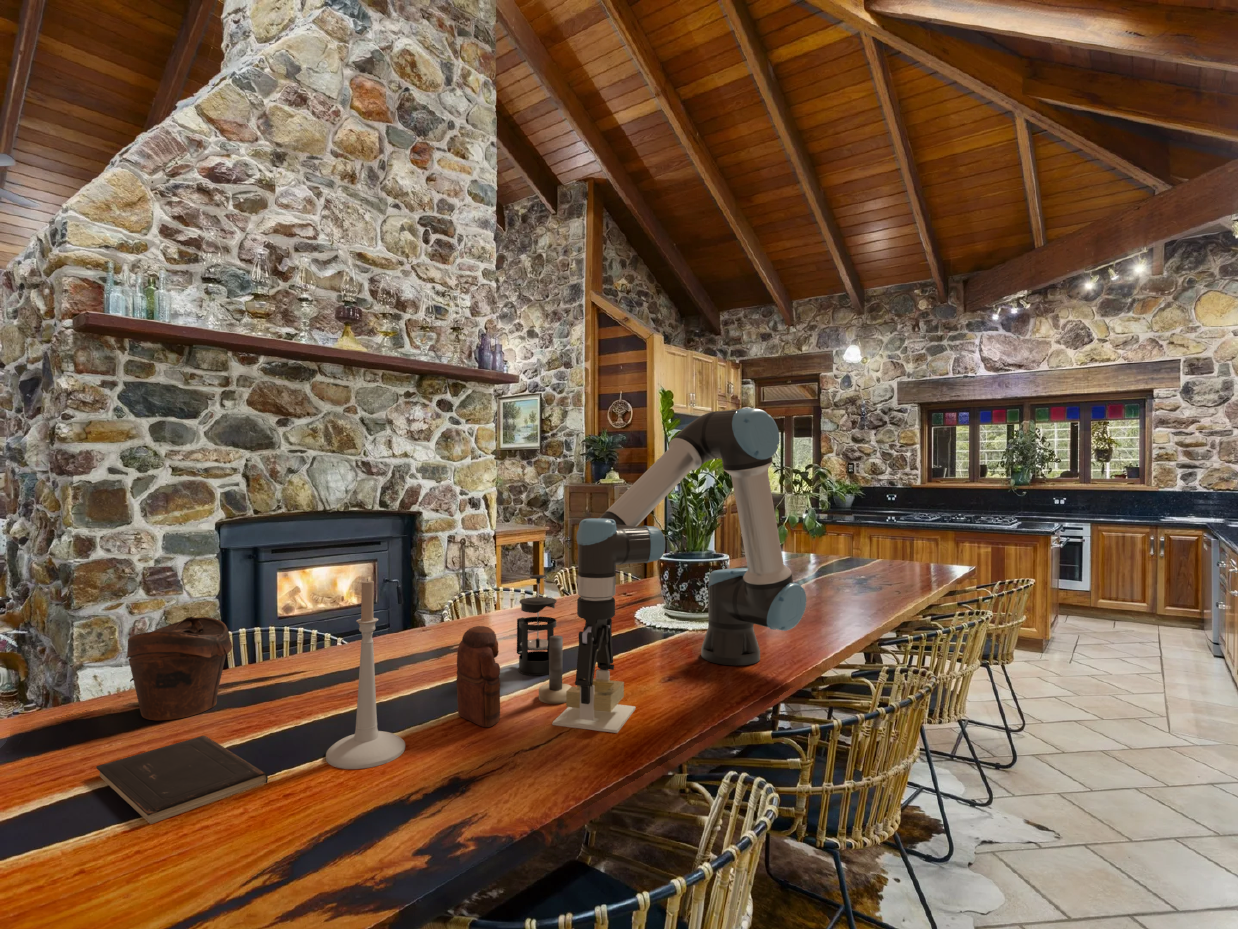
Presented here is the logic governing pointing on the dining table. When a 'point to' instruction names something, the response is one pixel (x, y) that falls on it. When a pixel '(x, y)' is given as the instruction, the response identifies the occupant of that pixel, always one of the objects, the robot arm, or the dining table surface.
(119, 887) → the dining table surface
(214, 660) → the case
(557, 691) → the peg stand
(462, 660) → the wooden figurine
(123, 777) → the hardcover book
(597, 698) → the brass C-link
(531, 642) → the french press
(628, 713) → the felt mat
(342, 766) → the candlestick
